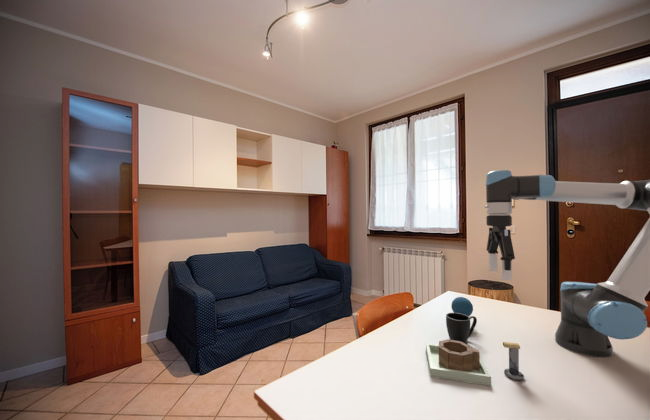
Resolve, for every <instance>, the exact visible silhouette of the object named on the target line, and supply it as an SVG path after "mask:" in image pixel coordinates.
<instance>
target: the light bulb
mask: <svg viewBox="0 0 650 420" xmlns="http://www.w3.org/2000/svg"><path fill="white" fill-rule="evenodd" d="M451 309H452V313H460V314H464V315H467V316H472V314H473V312H474V305H473V304H472V302H471V301H470V300H469V299H468V298H466V297H463V296H457V297H456V298H454V299H453V300H452V301H451Z"/></svg>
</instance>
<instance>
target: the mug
mask: <svg viewBox="0 0 650 420" xmlns="http://www.w3.org/2000/svg"><path fill="white" fill-rule="evenodd" d="M471 319H473V321H472V324H471ZM477 321H478V320H477V317H476V316H474V315H470V316H467V315H464V314H460V313H454V312H449V313H448V312H447V313H446V314H445V323H446V324H445V325H446V330H447V334H448V337H449V338H448V339H449V340H455V341H461V342H463V343H465V344H467V342H468V339H469V338H470V337H471V335H472V333H473V331H474V329H475V327H476V326H477Z"/></svg>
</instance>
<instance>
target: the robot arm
mask: <svg viewBox="0 0 650 420" xmlns="http://www.w3.org/2000/svg"><path fill="white" fill-rule="evenodd" d="M485 187H486V188H485V191H486V195H485V196H486V197H485V198H486V205H485V206H484V208H485V209H486V214H488V215H486V217H485V218H486V226H488V236H487V243H486V244H487V245H486V251H487V252H488V271H489V272H498V254H499V250H498V248H499V249H500V254H501V256H500V259H499V260H500V262H501V263H500V264H501V266H500V267H501V275H500V276H501V280H503V281H513V277H512V276H513V274H512V273H513V269H512V266H513V265H512V264H513V263H512V261H513V260H515V259H516V257H515V253H514V247H513V241H512V236H511V229H507V227H511V226H512V225H513V216H512V213H513V201H512V200H515V201H518V200H525V201H526V200H527V201H528V200H529V201H546V202H559V203H560V202H561V203H562V202H563V203H578V204H579V203H580V204H593V205H594V204H596V205H612V206H616V207H617V208H618V209H625V210H626V209H629V210H635V211H637V210H638V211H642V212H643V211H645V212H648V213H647V214H649V215H650V179H646V180H624V181H621V182H620V183H613V182H612V183H611V182H590V181H587V182H586V181H583V182H582V181H566V180H565V181H562V180H556V179H555V178H554V176H553V175H550V174H536V175H535V174H534V175H518V176H517V175H513V174H512V171H511V170H507V169H499V170H492V171H489V172H488V173H487V174H486V180H485ZM559 292H560V322H559V325H558V327H557V329H556V331H555V334H554V337H555V338H554V340H555V342H556V343H557V344H558V345H559V346H561V347H563V348H564V349H567V350H570V351H572V352H575V353H578V354H583V355H587V356H592V357H597V358H598V357H599V358H600V357H601V358H606V357H607V358H608V357H611V356H613V355H614V353H613V351H614V349H613V346H612V342H611V341H610V338H612V339H615V340H631V339H634V338H637V337H640V336H641V335H642V334H643V333H644V332H645V331H646V329H647V328H648V320H647V317H646V314H645V311H646V310H647V309H648V306H649V305H648V303H647V302H646V300H645V298H646V296H647V295H648V293H649V292H650V217H649V218H648V219H647V220H646V222H645V224H644V225H643V227H642V228H641V229H640V231H639V233H638V234H637V236H636V237H635V239H634V240H633V242H632V243H631V245H630V246H629V247H628V249H627V251H626V252H625V254H623V257H622V258H621V260H620V261H619V263H618V264H617V266H616V267H615V269H614V270H613V272H612V273H611V275H610V276H609V277H608V279H607V280H606V281H604V282H598V283H590V282H582V281H562V282H561V284H560V290H559Z"/></svg>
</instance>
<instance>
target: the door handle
mask: <svg viewBox="0 0 650 420" xmlns="http://www.w3.org/2000/svg"><path fill="white" fill-rule="evenodd" d="M502 346H503V348H508V368H504V370H503V373H504V376H506V377H507V378H508V379H510V380H513V381H517V382H523V381H524V379H525V375H524V373H522V372H521V371H520V370H519V369H520V367H519V366H520V363H519V360H520V358H519V357H520V356H519V353H520V350H521V345H520V344H519V343H517V342H510V341H509V342H507V341H502Z"/></svg>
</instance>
